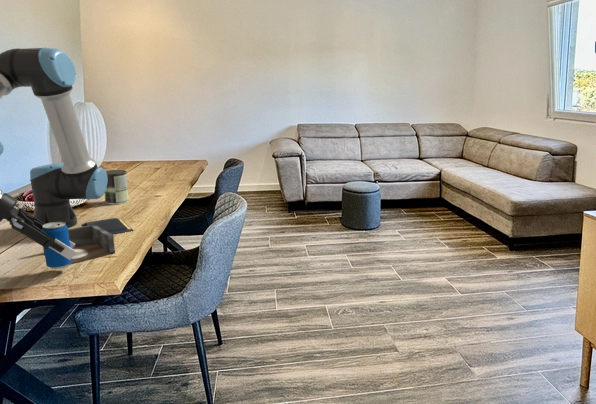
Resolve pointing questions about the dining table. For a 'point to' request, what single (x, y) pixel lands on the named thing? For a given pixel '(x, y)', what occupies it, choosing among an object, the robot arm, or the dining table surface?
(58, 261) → the beverage can
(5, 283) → the dining table surface
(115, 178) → the coffee can
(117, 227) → the dark grey flat rectangle
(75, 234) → the corner tray
